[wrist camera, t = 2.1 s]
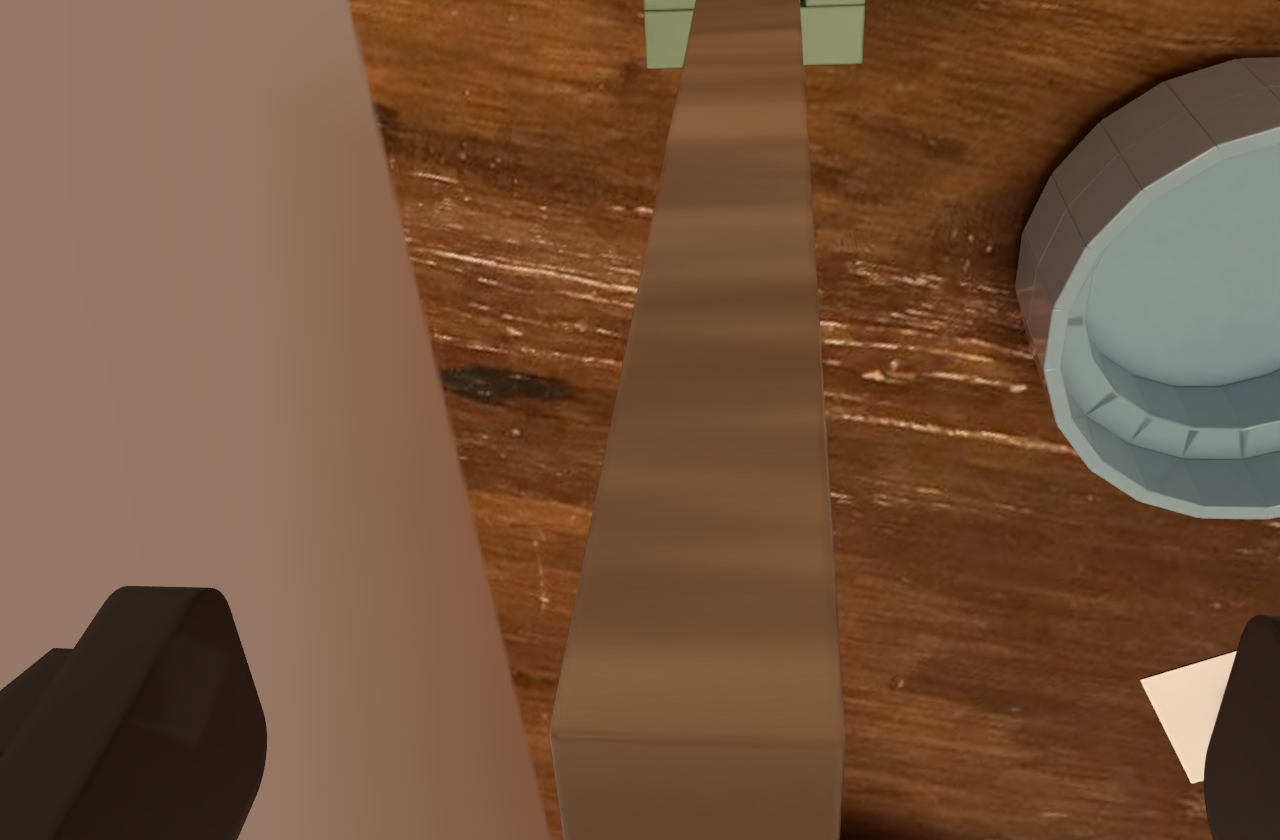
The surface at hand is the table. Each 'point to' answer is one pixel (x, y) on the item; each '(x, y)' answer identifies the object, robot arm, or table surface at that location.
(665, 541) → the stick
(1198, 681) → the white board
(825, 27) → the stick holder
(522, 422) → the table surface
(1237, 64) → the light blue round container
